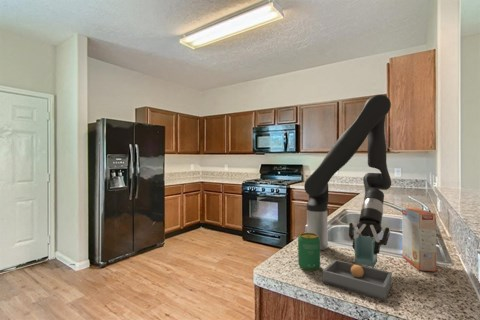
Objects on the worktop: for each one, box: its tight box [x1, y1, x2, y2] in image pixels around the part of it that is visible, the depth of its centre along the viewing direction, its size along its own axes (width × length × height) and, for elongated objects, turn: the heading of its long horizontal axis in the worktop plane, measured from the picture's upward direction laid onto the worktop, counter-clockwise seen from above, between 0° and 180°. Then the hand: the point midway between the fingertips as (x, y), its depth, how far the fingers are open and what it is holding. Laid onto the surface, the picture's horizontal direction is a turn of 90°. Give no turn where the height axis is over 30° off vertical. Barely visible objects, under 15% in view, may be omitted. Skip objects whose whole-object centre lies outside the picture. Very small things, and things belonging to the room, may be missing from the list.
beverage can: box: [297, 232, 321, 272], centre depth 96 cm, size 8×8×12 cm
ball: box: [351, 264, 364, 278], centre depth 85 cm, size 4×4×4 cm
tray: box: [322, 259, 393, 302], centre depth 82 cm, size 18×12×4 cm, turn 51°
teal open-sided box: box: [354, 236, 378, 268], centre depth 91 cm, size 6×6×8 cm
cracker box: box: [401, 206, 437, 273], centre depth 97 cm, size 14×6×21 cm, turn 168°
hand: (365, 251), depth 90 cm, fingers closed on teal open-sided box, 6 cm apart
